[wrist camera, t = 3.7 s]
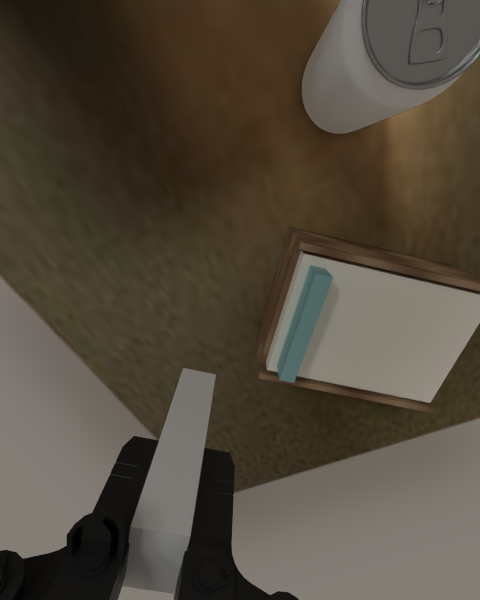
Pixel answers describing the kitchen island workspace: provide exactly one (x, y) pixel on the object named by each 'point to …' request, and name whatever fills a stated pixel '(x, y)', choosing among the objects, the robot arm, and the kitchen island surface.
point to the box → (357, 254)
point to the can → (387, 59)
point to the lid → (371, 328)
